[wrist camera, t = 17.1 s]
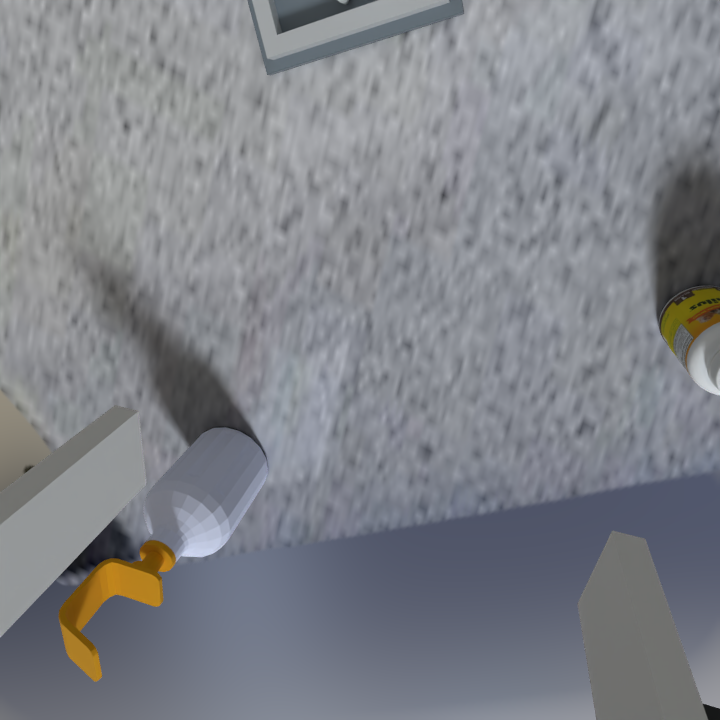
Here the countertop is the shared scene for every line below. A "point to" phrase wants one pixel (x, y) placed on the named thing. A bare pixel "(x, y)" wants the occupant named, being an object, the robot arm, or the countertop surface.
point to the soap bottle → (172, 530)
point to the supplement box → (344, 1)
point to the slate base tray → (336, 26)
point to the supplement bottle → (695, 333)
